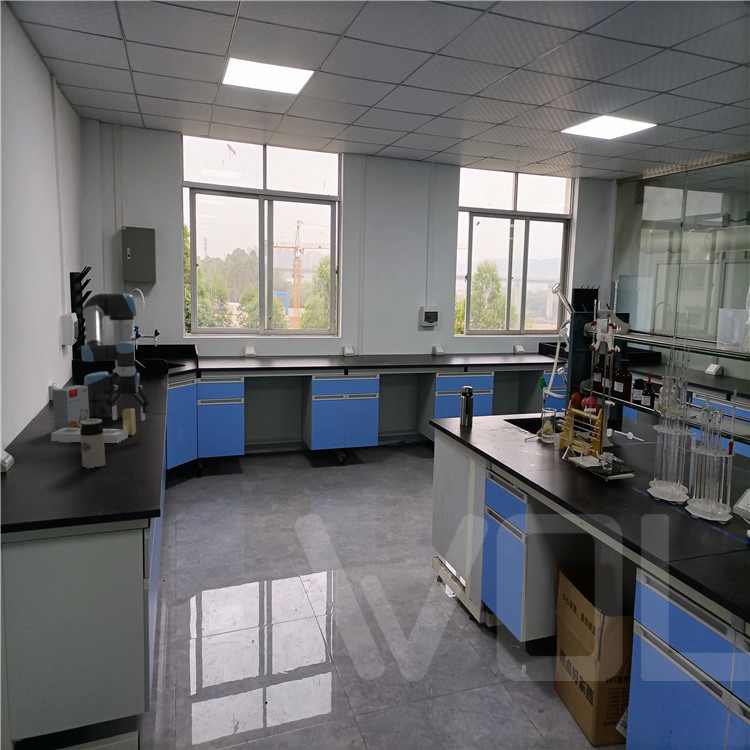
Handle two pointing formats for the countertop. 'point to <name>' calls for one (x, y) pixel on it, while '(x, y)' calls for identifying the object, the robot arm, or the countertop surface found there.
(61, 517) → the countertop surface
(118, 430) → the white compartment tray
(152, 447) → the countertop surface
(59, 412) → the hard drive box
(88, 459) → the travel mug
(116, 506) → the countertop surface
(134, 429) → the wooden block
